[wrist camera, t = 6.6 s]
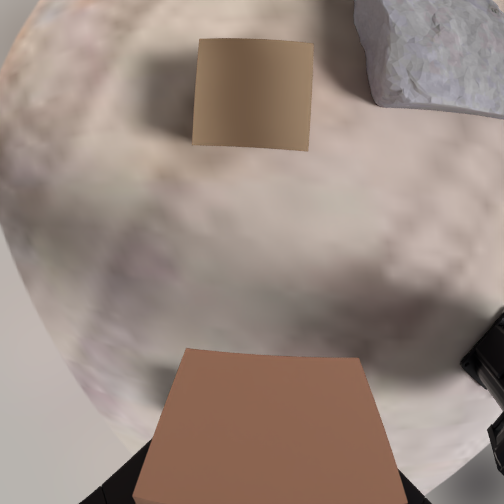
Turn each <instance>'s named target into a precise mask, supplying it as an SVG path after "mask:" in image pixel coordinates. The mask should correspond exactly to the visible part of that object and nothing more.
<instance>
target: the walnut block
mask: <svg viewBox="0 0 504 504" xmlns="http://www.w3.org/2000/svg"><path fill="white" fill-rule="evenodd" d="M313 51H314V44H313V43H304V42H294V41H282V40H267V39H239V38H216V39H199V48H198V59H197V71H196V84H195V99H194V115H193V134H192V145H206V146H236V147H255V148H271V149H285V150H297V151H308V146H309V131H310V115H311V97H312V77H313Z"/></svg>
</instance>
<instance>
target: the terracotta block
mask: <svg viewBox="0 0 504 504" xmlns="http://www.w3.org/2000/svg"><path fill="white" fill-rule="evenodd" d="M132 497H133V499H134V500H135V502H136V504H407V503H408V501H407V498H406V495H405V491H404V488H403V485H402V481H401V478H400V475H399V472H398V468H397V465H396V462H395V459H394V456H393V453H392V450H391V447H390V444H389V441H388V438H387V435H386V432H385V429H384V426H383V423H382V420H381V417H380V414H379V412H378V409H377V406H376V403H375V400H374V398H373V395H372V392H371V389H370V387H369V384H368V381H367V379H366V376H365V373H364V370H363V368H362V365H361V363H360V360H359V358H324V357H291V356H271V355H255V354H241V353H229V352H218V351H208V350H198V349H189V348H186V350H185V352H184V355H183V358H182V360H181V363H180V366H179V368H178V371H177V373H176V376H175V379H174V381H173V384H172V387H171V389H170V392H169V395H168V398H167V400H166V403H165V406H164V408H163V411H162V414H161V416H160V419H159V422H158V425H157V427H156V430H155V433H154V436H153V439H152V441H151V444H150V447H149V450H148V452H147V455H146V458H145V461H144V464H143V467H142V469H141V472H140V475H139V478H138V481H137V484H136V487H135V490H134V492H133V495H132Z"/></svg>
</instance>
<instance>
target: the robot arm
mask: <svg viewBox="0 0 504 504" xmlns="http://www.w3.org/2000/svg"><path fill="white" fill-rule="evenodd" d="M460 365H461V366H462V368H463V369H464V370H465V371H466V372H467V373H469V374H470V375H471V376H472V377H473V378H474V379H475V380H476V381H477V382H478V383H479V384H480V385H481V386H482V387H484V388H485V389H486V390H487V389H488V391H489V392H490V393H491V395H492V396H493V398H494V399H495V400H496V402H497V403H498V405H499V406H500V407H501V409H502V410H503V412H502V414H501V415H500V416H499V417H498V418H497V420H496V421H495V422H494V423H493V424H491V425H490V427H489V428H488V429H487V431H488V435H489V438H490V442H491V445H492V449H493V453H494V457H495V461H496V464H497V469H498V470H499V471H500V472H501V473H502V474H503V475H504V313H503V314H502V315H501V317H500V318H499V319H498V320H497V322H496V323H495V324H494V325H493V326H492V328H491V329H490V330H489V331H488V332H487V333H486V334H485V336H484V337H483V338H482V339H481V340H480V341H479V342H478V344H477V345H476V346H475V347H474V348H473V349H472V350H471V351H470V352H469V353H468V354H467V355H466V356H465V357H464V359H463V360H462V361H461V364H460ZM152 439H153V438H152ZM152 439H151V440H150V441H149V442H148V443H147V444H146V445H144V446H143V447H142V448H141V449H140V450H139V451H138V452H137V453H136V454H135V455H134V456H133V457H132V458H131V459H130V460H129V461H127V462H126V463H125V464H124V465H123V466H122V467H121V468H120V469H119V470H118V471H117V472H115V473H114V474H113V475H112V476H111V477H110V478H109V479H108V480H106V481H105V482H104V483H103V484H102V486H99V487H98V488H97V489H96V490H95V491H94V492H93V493H92V494H90V495H89V496H88V497H87V498H86V499H84V500H83V501H82V502H80V503H79V504H136V502H135V500H134V499H133V497H132V495H133V492H134V490H135V487H136V484H137V481H138V478H139V475H140V472H141V469H142V467H143V464H144V461H145V458H146V455H147V452H148V450H149V447H150V444H151V441H152ZM398 472H399V475H400V478H401V481H402V485H403V488H404V491H405V495H406V498H407V501H408V503H407V504H432V503H431V502H430V501H429V500H428V499H427V498H425V496H424V495H423V494H422V493H421V492H420V491H419V490H418V489H417V488H416V487H415V486H414V485H413V484H412V483H411V482H410V481H409V480H408V479H407V478H406V477H405V476H404V474H403V473H402V472H401V471H400V470H399V469H398Z"/></svg>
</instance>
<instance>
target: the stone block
mask: <svg viewBox="0 0 504 504" xmlns="http://www.w3.org/2000/svg"><path fill="white" fill-rule="evenodd" d="M354 4H355V5H354V15H353V17H354V25H355V27H356V30H357V32H358V34H359V37H360V43H361V45H362V46H363V48H364V50H365V55H366V66H367V74H368V80H369V85H370V88H371V95H372V97H373V99H374V101H375V103H376V104H377V105H379V106H381V107H385V108H388V107H391V108H409V109H424V110H437V111H446V112H456V113H465V114H473V115H480V116H486V117H492V118H498V119H504V13H503V12H502V11H501V10H500V9H499V7H498V5H497V4H496V3H495V2H494V1H492V0H354Z"/></svg>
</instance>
